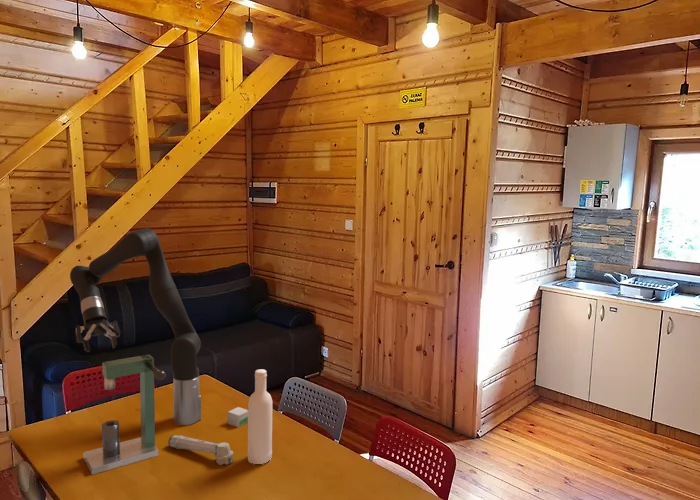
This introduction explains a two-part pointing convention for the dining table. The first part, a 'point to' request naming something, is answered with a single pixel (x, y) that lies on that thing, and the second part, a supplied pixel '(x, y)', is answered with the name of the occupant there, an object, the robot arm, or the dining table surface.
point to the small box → (238, 417)
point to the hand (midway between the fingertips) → (101, 349)
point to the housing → (110, 438)
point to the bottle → (260, 421)
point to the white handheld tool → (203, 448)
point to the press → (145, 443)
